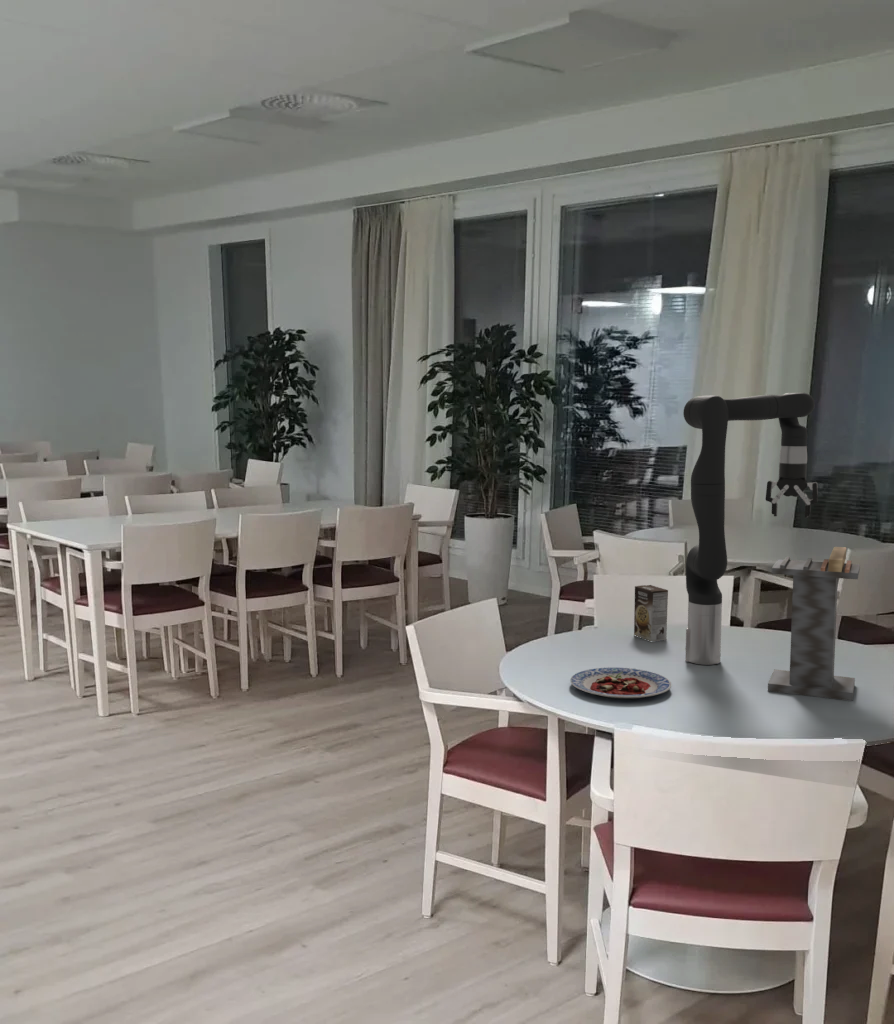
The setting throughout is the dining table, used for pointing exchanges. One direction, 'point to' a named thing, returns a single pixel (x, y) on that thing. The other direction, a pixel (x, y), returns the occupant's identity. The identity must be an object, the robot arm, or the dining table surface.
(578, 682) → the ceramic plate
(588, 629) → the dining table surface
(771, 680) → the grey pedestal stand
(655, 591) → the printed cardboard box
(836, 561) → the oak bar
